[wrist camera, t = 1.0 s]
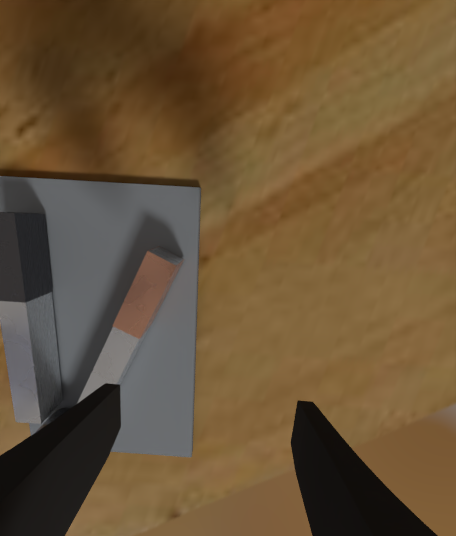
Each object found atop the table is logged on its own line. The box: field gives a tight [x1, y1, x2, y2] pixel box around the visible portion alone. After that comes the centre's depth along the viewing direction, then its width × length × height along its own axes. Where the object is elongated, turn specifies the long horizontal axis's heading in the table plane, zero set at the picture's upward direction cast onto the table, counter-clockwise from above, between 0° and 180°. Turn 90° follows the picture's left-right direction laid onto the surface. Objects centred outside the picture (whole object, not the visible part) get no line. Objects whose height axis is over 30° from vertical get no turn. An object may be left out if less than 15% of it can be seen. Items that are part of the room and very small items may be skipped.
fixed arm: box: [0, 212, 63, 424], centre depth 18 cm, size 16×2×2 cm, turn 177°
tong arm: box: [35, 246, 184, 433], centre depth 18 cm, size 20×4×3 cm, turn 152°
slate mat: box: [0, 176, 201, 457], centre depth 20 cm, size 24×15×1 cm, turn 177°
